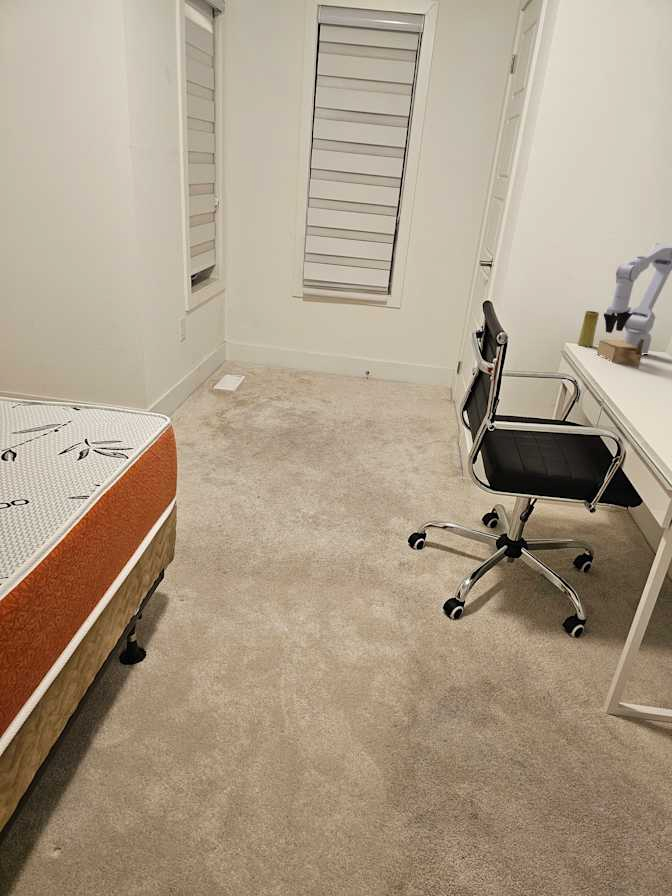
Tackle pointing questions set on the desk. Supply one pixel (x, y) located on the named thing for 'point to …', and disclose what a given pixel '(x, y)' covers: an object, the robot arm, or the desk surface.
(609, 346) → the carton
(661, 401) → the desk surface
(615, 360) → the wooden paddle
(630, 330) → the robot arm
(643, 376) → the desk surface
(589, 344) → the vase
